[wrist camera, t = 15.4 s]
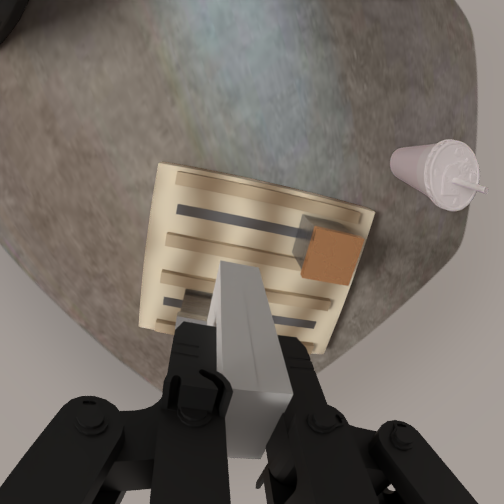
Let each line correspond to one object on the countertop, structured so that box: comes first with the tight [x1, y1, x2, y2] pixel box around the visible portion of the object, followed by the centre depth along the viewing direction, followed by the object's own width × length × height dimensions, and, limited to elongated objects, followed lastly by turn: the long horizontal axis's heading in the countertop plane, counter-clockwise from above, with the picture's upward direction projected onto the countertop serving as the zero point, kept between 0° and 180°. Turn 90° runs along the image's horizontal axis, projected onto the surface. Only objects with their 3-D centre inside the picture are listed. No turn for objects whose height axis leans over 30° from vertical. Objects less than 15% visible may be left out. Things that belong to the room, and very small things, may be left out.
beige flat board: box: [139, 161, 375, 354], centre depth 33 cm, size 22×18×3 cm
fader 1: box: [175, 289, 213, 329], centre depth 31 cm, size 4×4×6 cm
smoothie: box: [390, 139, 488, 211], centre depth 25 cm, size 6×6×14 cm
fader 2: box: [292, 214, 365, 286], centre depth 29 cm, size 4×4×6 cm
